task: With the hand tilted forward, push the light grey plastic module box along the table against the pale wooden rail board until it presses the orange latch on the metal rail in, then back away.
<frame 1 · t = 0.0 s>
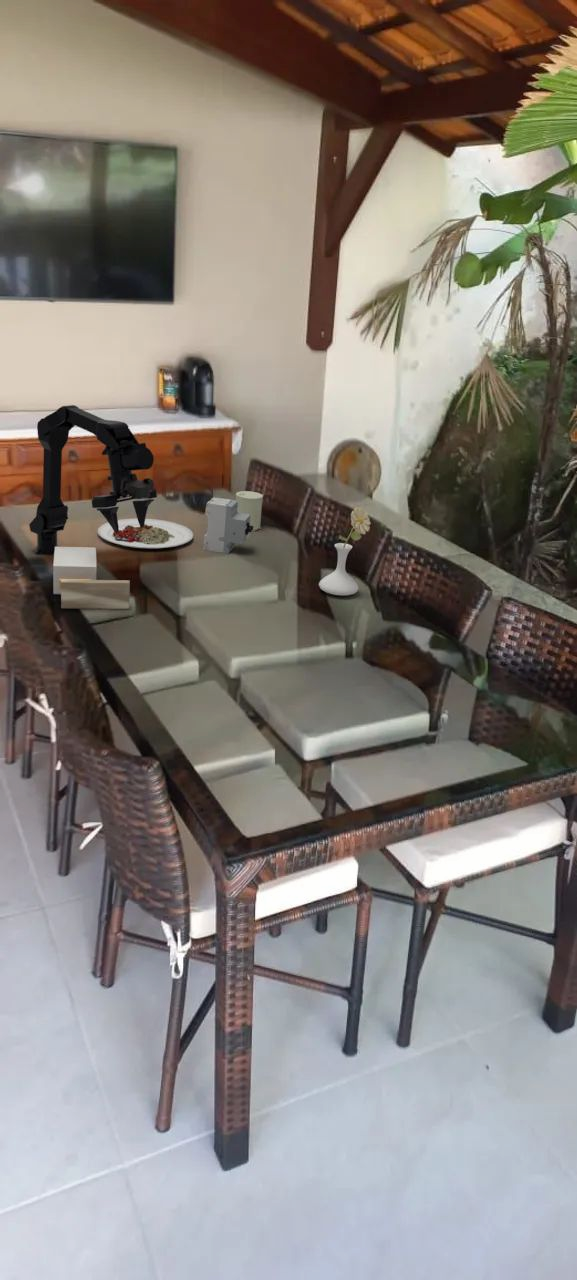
hand: (129, 529, 248), 15 cm above the table, tool pointing down, fingers open, 9 cm apart
rail latch: (75, 584, 238), point 4 cm above the table, slide at 0.0 cm
flower in vase: (340, 592, 264), on the table
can: (246, 528, 313), on the table
circuit breaker: (228, 550, 290), on the table
rail board: (95, 604, 238), on the table
plated food: (145, 538, 294), on the table
module box: (75, 584, 251), on the table
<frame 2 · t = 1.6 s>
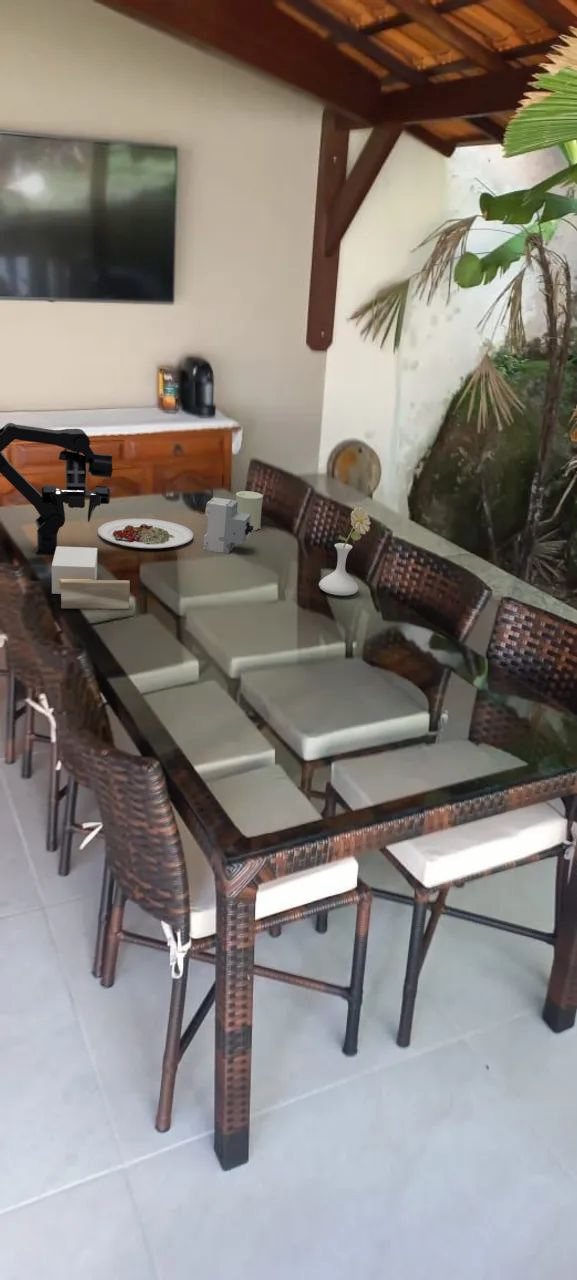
hand: (76, 521, 259), 13 cm above the table, tool tilted 45°, fingers open, 6 cm apart
nothing on the table moved.
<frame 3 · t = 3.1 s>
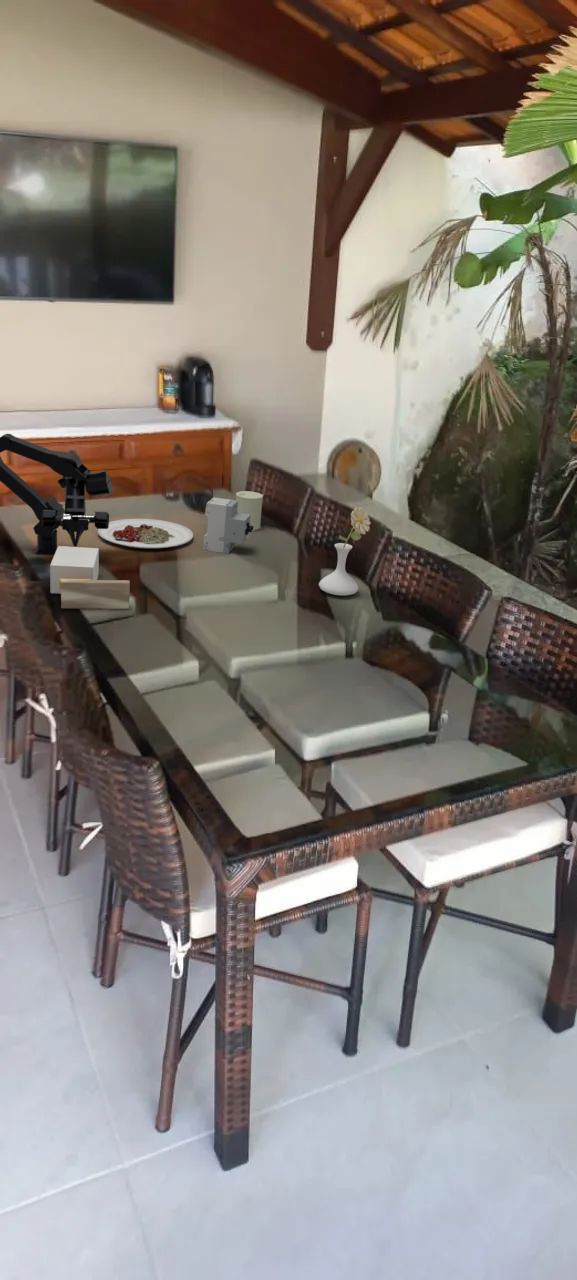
hand: (75, 546, 259), 7 cm above the table, tool tilted 45°, fingers closed
nothing on the table moved.
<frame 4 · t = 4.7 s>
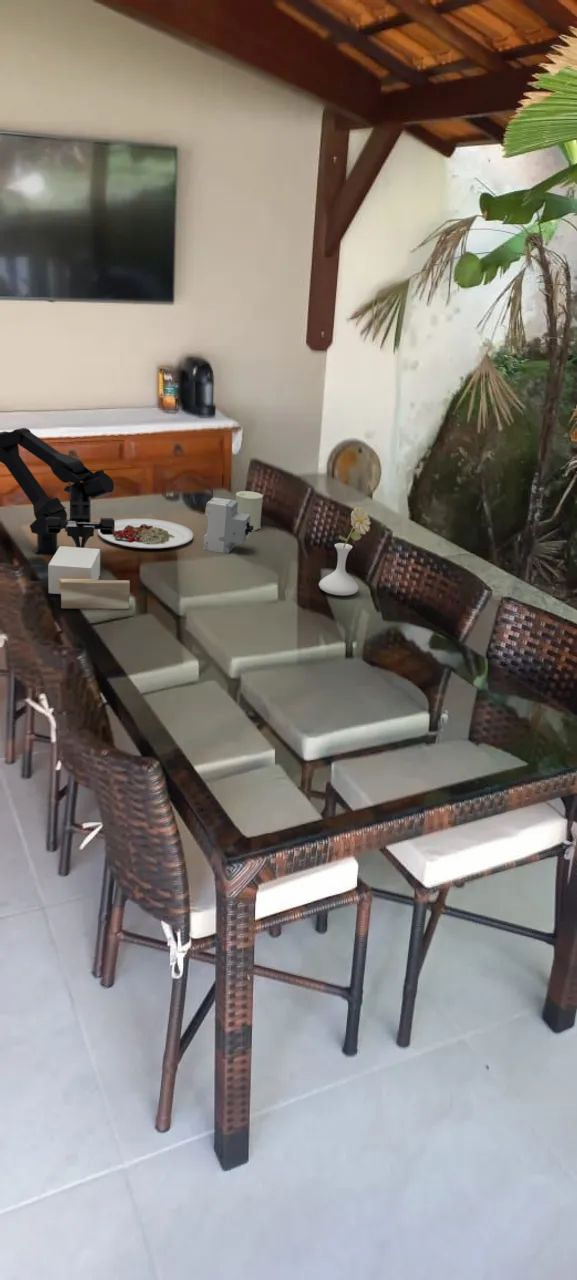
hand: (80, 554, 256), 6 cm above the table, tool tilted 40°, fingers closed
module box: (75, 584, 250), on the table, touching gripper
everything else where it was.
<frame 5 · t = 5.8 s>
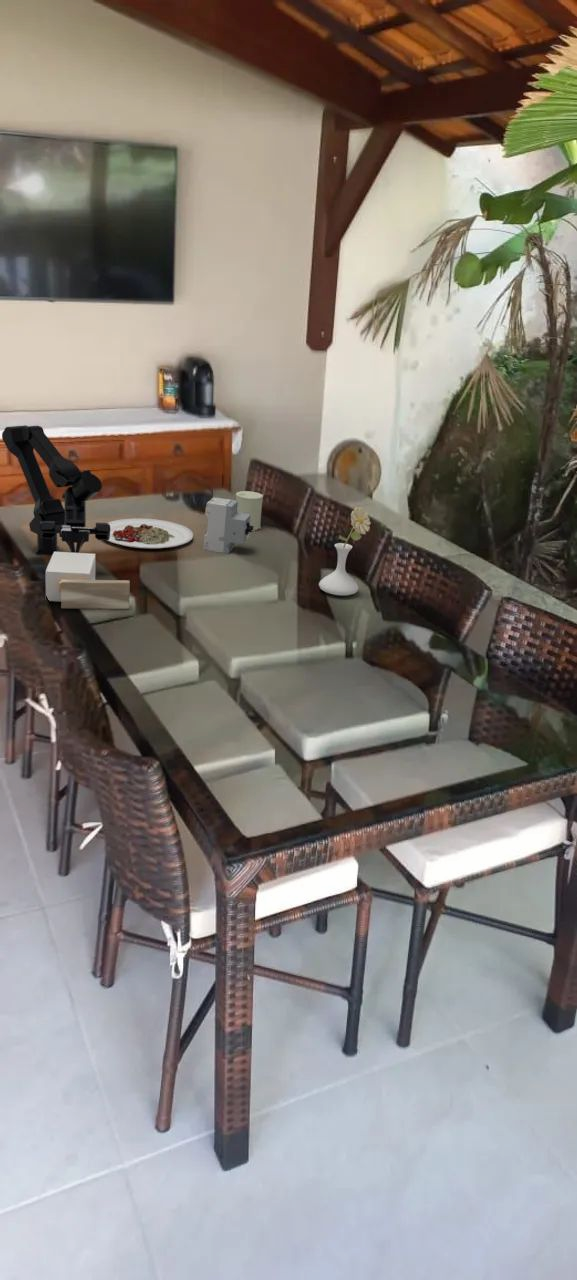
hand: (75, 558, 250), 6 cm above the table, tool tilted 45°, fingers closed, pressing on module box
rail latch: (75, 587, 236), point 4 cm above the table, slide at 2.1 cm, touching module box
module box: (71, 590, 245), on the table, touching gripper, rail latch
everything else where it was.
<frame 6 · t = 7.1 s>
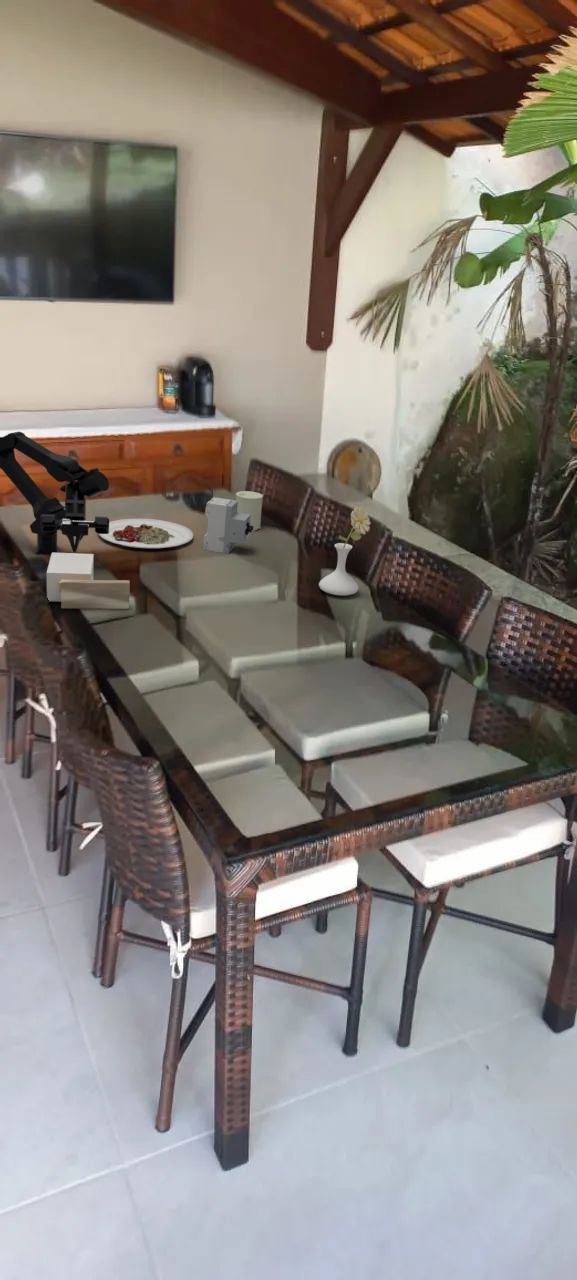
hand: (74, 551, 255), 6 cm above the table, tool tilted 45°, fingers closed
rail latch: (75, 586, 236), point 4 cm above the table, slide at 1.9 cm
module box: (70, 591, 246), on the table
everything else where it was.
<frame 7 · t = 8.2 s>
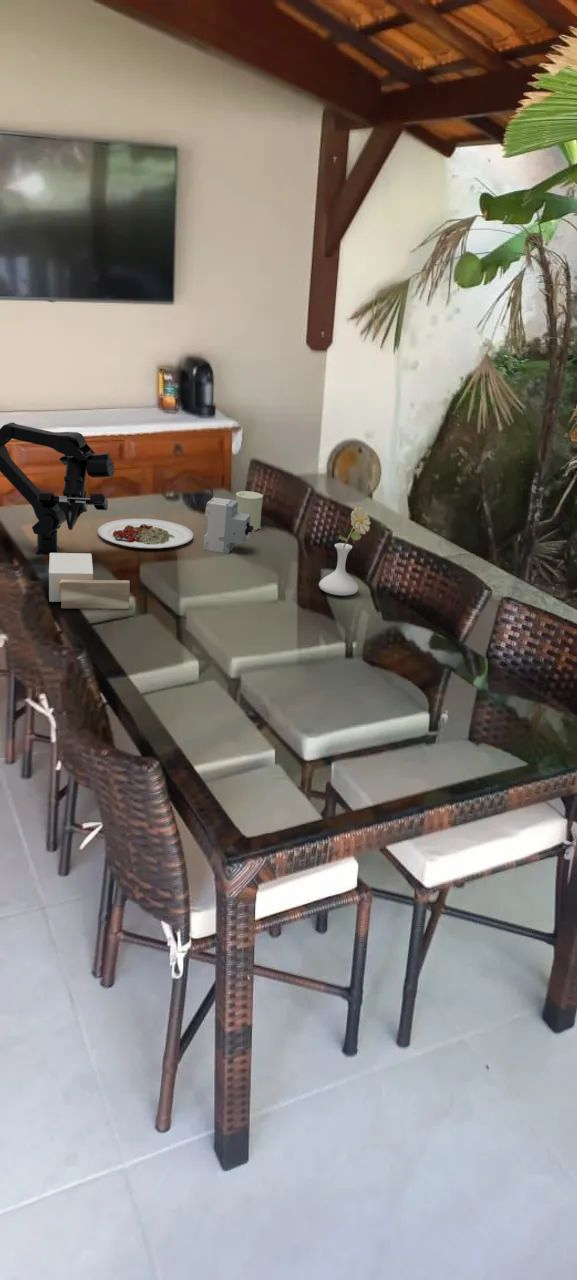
hand: (70, 529, 257), 11 cm above the table, tool tilted 35°, fingers closed
nothing on the table moved.
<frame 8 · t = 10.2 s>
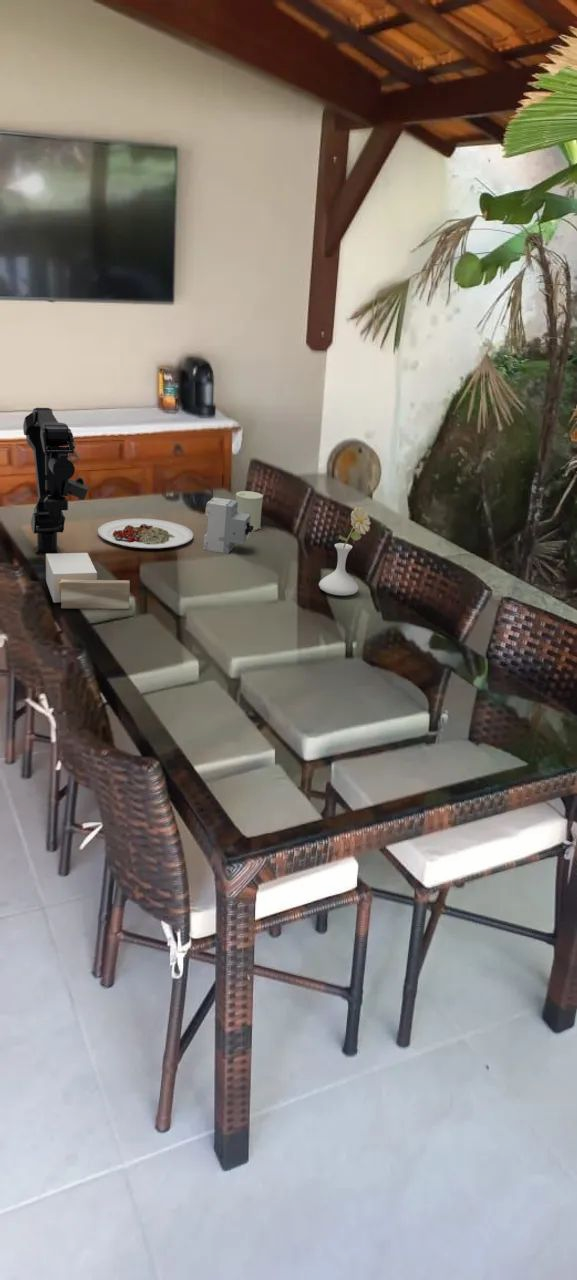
hand: (56, 526, 256), 12 cm above the table, tool pointing down, fingers closed
at the end: rail latch slide at 1.9 cm; module box 1.2 cm from the target spot, on the table; module box tilted 0° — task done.
